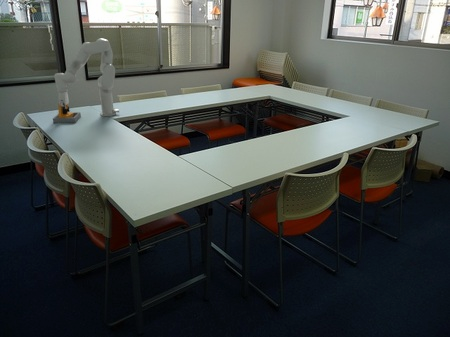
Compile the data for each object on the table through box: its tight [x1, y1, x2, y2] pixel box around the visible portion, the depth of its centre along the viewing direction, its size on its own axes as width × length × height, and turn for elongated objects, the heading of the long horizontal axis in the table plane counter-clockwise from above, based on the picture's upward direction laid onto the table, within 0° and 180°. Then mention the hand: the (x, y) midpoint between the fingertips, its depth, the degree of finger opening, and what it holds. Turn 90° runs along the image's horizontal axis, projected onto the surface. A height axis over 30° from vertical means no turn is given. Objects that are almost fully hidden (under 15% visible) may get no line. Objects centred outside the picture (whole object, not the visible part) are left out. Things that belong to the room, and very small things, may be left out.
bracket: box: [57, 103, 74, 118], centre depth 284 cm, size 11×7×12 cm, turn 176°
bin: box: [52, 111, 82, 124], centre depth 286 cm, size 16×16×4 cm
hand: (66, 112), depth 285 cm, fingers closed on bracket, 5 cm apart
